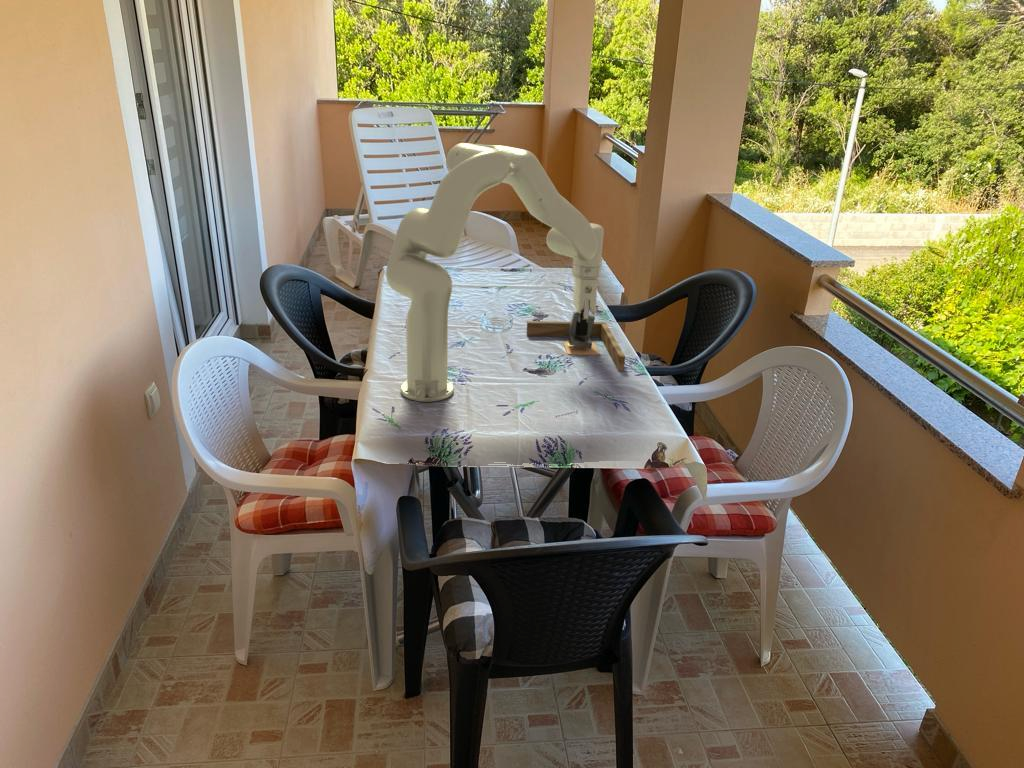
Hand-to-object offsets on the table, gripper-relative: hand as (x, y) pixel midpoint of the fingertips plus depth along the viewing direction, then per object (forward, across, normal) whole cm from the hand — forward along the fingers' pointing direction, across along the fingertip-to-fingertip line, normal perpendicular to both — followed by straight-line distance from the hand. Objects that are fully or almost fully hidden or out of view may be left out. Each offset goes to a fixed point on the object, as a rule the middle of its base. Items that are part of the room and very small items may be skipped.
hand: (580, 333), depth 207 cm
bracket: (+2, -2, +1) cm, 3 cm away
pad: (+4, -2, 0) cm, 4 cm away
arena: (+4, -4, +3) cm, 6 cm away
